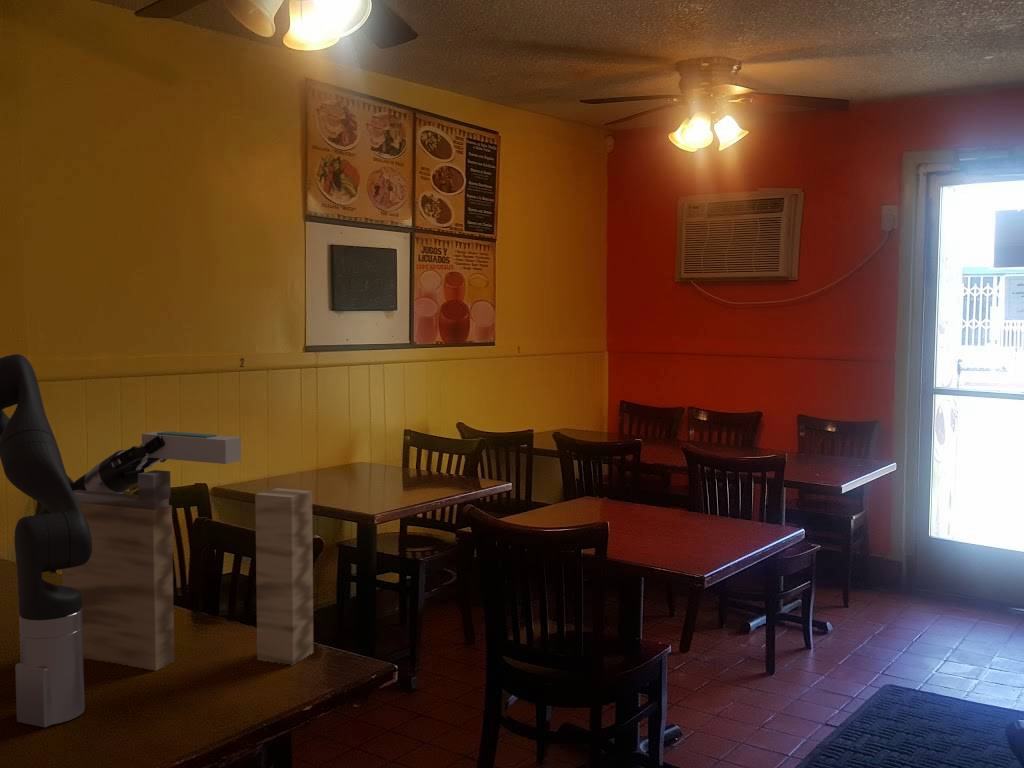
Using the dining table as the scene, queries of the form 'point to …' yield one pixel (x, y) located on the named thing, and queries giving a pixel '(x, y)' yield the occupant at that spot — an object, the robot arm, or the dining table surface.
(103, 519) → the rail post
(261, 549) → the stand
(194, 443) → the block
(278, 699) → the dining table surface
